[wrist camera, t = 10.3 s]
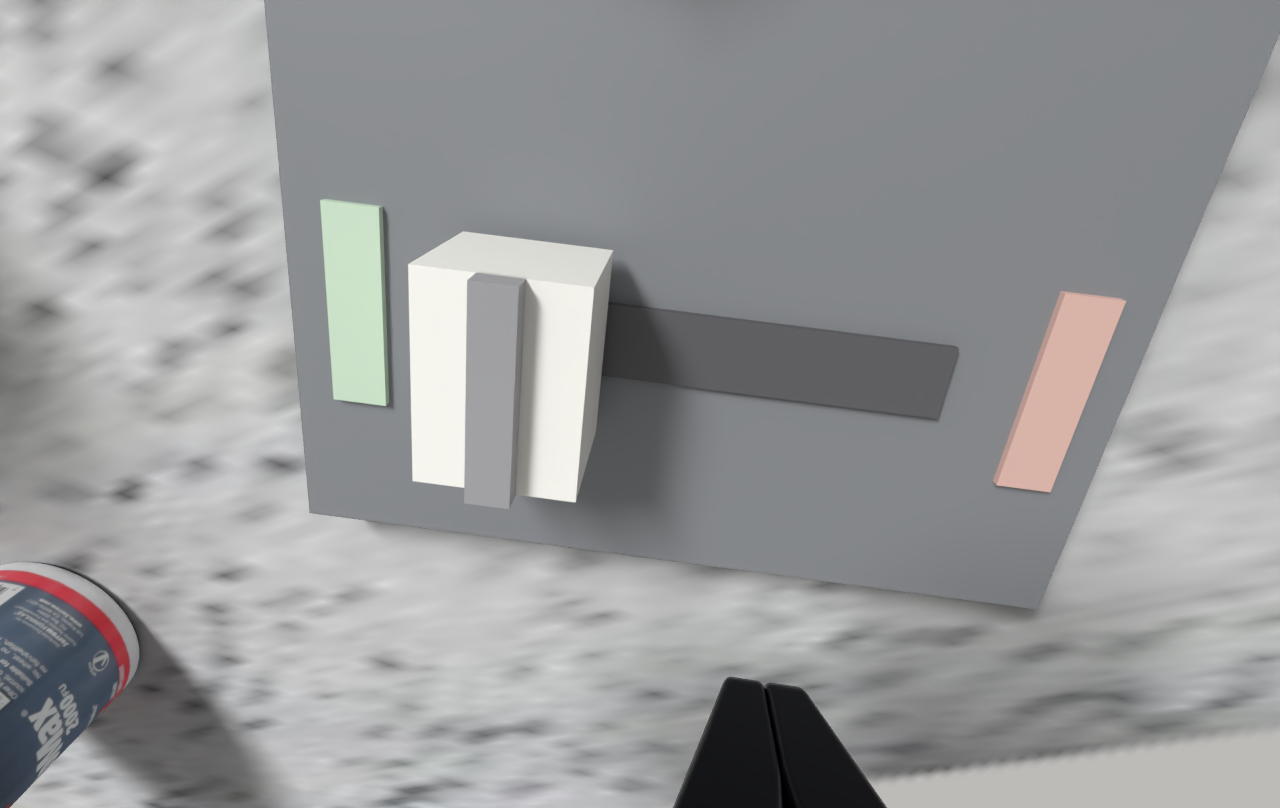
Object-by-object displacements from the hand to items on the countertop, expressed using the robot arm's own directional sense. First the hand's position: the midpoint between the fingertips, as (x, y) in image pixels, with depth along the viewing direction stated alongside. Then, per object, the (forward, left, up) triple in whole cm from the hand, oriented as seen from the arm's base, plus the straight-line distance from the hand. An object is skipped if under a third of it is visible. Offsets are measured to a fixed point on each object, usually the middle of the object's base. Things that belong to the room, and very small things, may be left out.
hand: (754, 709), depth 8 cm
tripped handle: (+4, -1, -8) cm, 9 cm away
